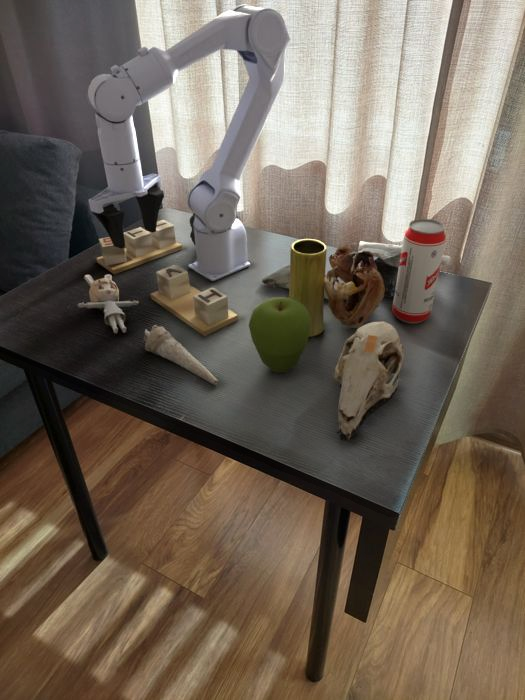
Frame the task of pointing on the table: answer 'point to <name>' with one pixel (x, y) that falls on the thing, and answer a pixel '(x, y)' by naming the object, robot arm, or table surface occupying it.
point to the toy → (107, 301)
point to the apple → (280, 332)
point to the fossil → (283, 279)
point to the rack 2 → (192, 301)
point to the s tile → (111, 252)
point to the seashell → (174, 352)
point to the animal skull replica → (367, 374)
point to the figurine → (392, 250)
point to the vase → (309, 279)
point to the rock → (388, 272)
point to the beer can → (418, 270)
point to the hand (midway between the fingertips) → (135, 238)
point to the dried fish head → (353, 286)
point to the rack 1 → (145, 246)
